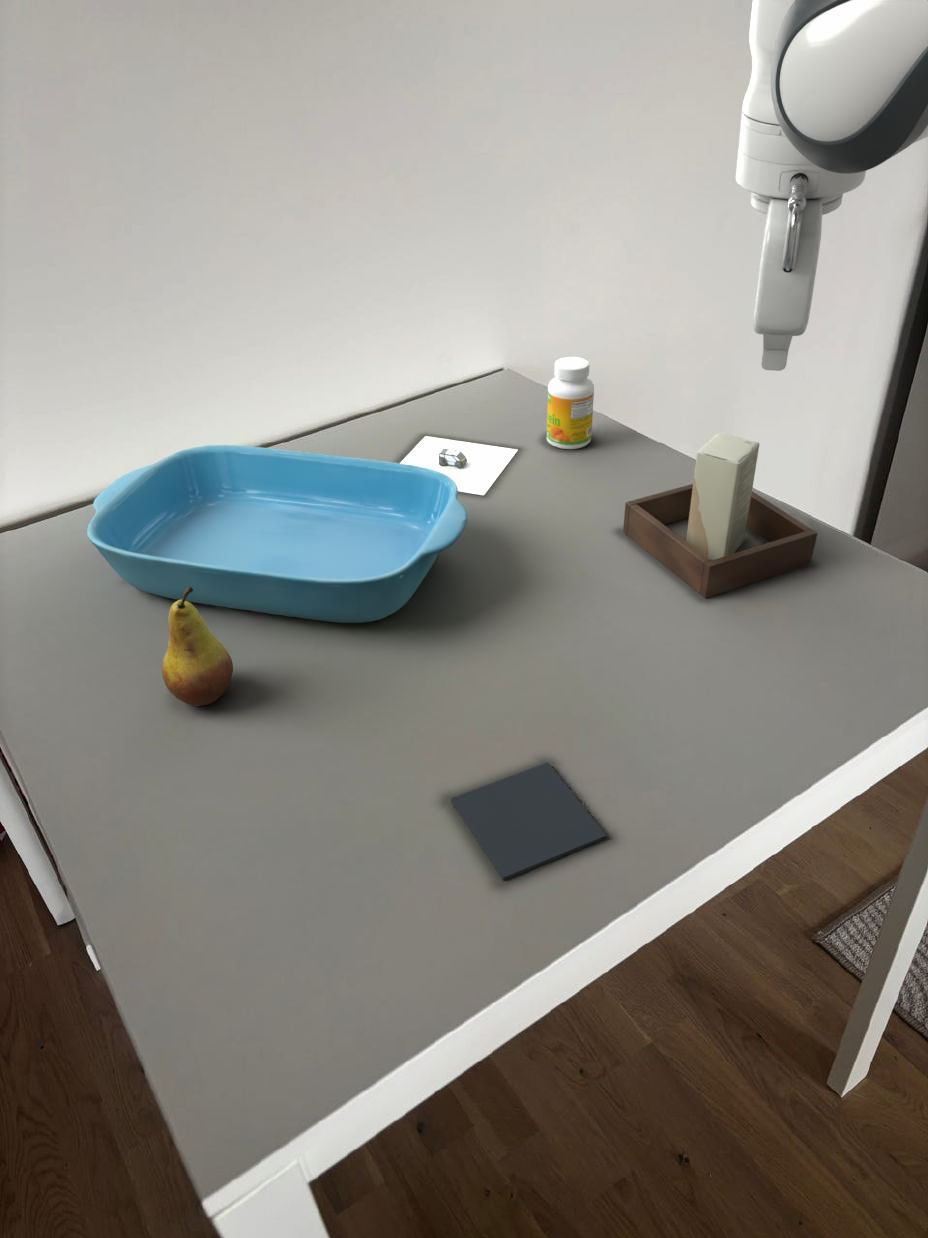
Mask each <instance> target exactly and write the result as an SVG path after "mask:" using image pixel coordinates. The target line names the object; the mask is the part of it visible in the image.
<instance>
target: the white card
mask: <svg viewBox="0 0 928 1238" xmlns="http://www.w3.org/2000/svg"><path fill="white" fill-rule="evenodd" d="M518 451H519V449H517V448H510V447H503V446H497V445H490V444H482V443H476V442H468V441H461V440H456V439H455V440H454V439H448V438H443V437H442V438H440V437H435V436H427V435H425V436H424V437H423V438H422V439H421V440H420V441H419V442H418V443H417V444H416V445H415V446H414V448H413V449H412V450H411V451H410V452H409V453H408V454H407V455H406V456H405V457H404V458H403V459H402V460H401V461H400V462H399V463H400V464H407V465H413V466H419V467H424V468H428V469H432V470H435V471H438V472H440V473H443V474H445V475H447V476H448V477H450V478H451V479H452V480H453V481H454V482H455V484H456V485H457V489H458V493H459V492H460V493H465V494H466V493H467V494H473V495H479V496H486V494H487V492H488V491H489V489H491V487H492V486H493V484H494V483H495V481H496V480H497V479H498V477H499V476H500V475H501V473H502V472H503V471H504V470H505V468H506V467H507V466H508V464H509V463H510V462H511V460H512V459H513V457H514V456H515V454H517V453H518Z"/></svg>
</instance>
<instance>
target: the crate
mask: <svg viewBox="0 0 928 1238" xmlns="http://www.w3.org/2000/svg"><path fill="white" fill-rule="evenodd" d="M692 489H693V483H691V484H687V485H683V486H681V487H680V486H679V487H676V488H672V489H669V490H665V491H662V492H658V493H654V494H650V495H647V496H642V497H639V498H636V499H633V500H632V499H631V500H629V501H625V505H624V516H623V527H622V528H623V529H622V533H624V534H625V535H626V536H627V537H629V538H630V539H631V540H632V541H634V542H635V543H636V544H637V545H639V547H641V548H642V549H643V550H645V551H646V552H647V553H648V554H650V555H651V556H652V557H653V558H654V559H656V560H657V561H658V562H660V564H662V565H663V566H664V567H666V568H667V569H668V570H669V571H671V573H672V574H675V575H676V576H677V578H679V579H681V580H682V581H683V582H684V583H685V584H687V585H688V586H689V587H690V588H692V589H693V590H695V591H696V592H697V593H698V594H699V595H701V596H702V597H703V598H704V599H707V598H710V597H714V596H717V595H720V594H722V593H726V592H729V591H732V590H735V589H738V588H741V587H745V586H748V585H750V584H754V583H757V582H760V581H763V580H766V579H769V578H772V577H775V576H778V575H782V574H784V573H787V572H790V571H794V570H797V569H800V568H802V567H805V566H809V565H812V561H813V556H814V552H815V547H816V543H817V538H818V532H817V531H815V530H814V529H812V528H811V527H809V526H808V525H806V524H804V523H803V522H801V521H800V520H798V519H796V518H795V517H794V516H792V515H791V514H789V513H787V512H786V511H784V510H783V509H782V508H779V507H778V506H776V505H775V504H773V503H772V502H770V501H769V500H768V499H765V498H764V497H762V496H761V495H759V494H757V493H756V492H755V491H753V490H752V494H751V500H750V506H749V512H748V518H747V524H746V528H748V529H750V530H751V531H753V532H755V534H757V535H759V536H760V537H762V538H763V539H765V541H768V542H767V543H764V544H760V545H757V546H753V547H750V548H747V549H744V550H740V551H737V552H734V554H731V555H727V556H724V557H721V558H718V559H714V560H710V559H709V558H707V557H706V556H705V555H703V554H702V553H701V552H699V551H698V550H697V549H695V548H694V547H693V546H691V545H690V544H689V543H687V542H686V539H683V538H682V536H679V534H677V533H676V532H674V531H673V530H672V529H670V528H669V527H668V526H667V525H669V524H671V523H675V522H678V521H681V520H682V521H683V520H685V519H689V513H690V506H691V498H692Z"/></svg>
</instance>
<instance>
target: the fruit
mask: <svg viewBox="0 0 928 1238" xmlns="http://www.w3.org/2000/svg"><path fill="white" fill-rule="evenodd" d="M192 591H193V589H192V587H190V586H189V587H188V588H187V589H186V591H185V593H184V595H183V598H182V600H178V599H177V600H175V602H173V603H172V604H171V606H170V608H169V611H168V612H169V613H168V632H169V633H168V634H169V636H168V637H169V638H168V642H167V650H166V651H165V654H164V657H163V660H162V663H161V674H162V679H163V682H164V684H165V686H166V689H167V690H168V691H169V693H170V694H171V695H173V696H174V697H175V698H176V699H178V701H181V702H183V703H184V704H186V705H190V706H196V707H199V706H201V707H202V706H207V705H210V704H212V703H214V702H216V701H217V700H218V699H220V697H221V696H222V695H223V694H224V693H225V692H226V690H227V689H228V688H229V685H230V683H231V681H232V677H233V674H234V664H233V659H232V658H231V656H230V653H229V652H228V650H227V649H226V648H225V646H224V645H223V644H222V643H221V642H220V641H219V639H218V638H217V637H216V636H215V635H214V634H213V632H212V631H211V630H210V629H209V627H208V625H207V623H206V622H205V620H204V618H203V617H202V616H201V614H200V612H199V611H198V609H197V608H196V607H195V606H194V605H193V603H192V602H190V601H185V599H186V597H187V596H188V594H189V593H190V592H192Z"/></svg>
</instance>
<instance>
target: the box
mask: <svg viewBox="0 0 928 1238" xmlns="http://www.w3.org/2000/svg"><path fill="white" fill-rule="evenodd" d="M759 449H760V442H758V441H753V440H750V439H745V438H741V437H737V436H733V435H731V434H726V433H722V432H717V433H716V434H715V435H713V436H712V437H711V438H710V439H709V440H708V441H707V442H706V443H705V444H704V445H702V447H700V449H699V450H698V451H697V452H696V458H695V466H694V475H693V476H694V477H693V482H692V484H693V489H692V498H691V506H690V513H689V518H688V521H687V531H686V539H685V541H686V542H687V543H689V544H690V545H691V546H693V547H694V548H695V549H697V550H698V551H699V552H701V553H702V554H703V555H705V556H706V557H707V558H709V559H710V560H714V559H718V558H721V557H724V556H727V555H731V554H734V553H736V551H737V550H738V549H739V548H740V547H741V545H742V544H743V543H744V541H745V535H746V529H747V526H746V524H747V518H748V512H749V506H750V500H751V494H752V491H753V486H754V481H755V475H756V469H757V463H758V458H759V457H758V455H759Z"/></svg>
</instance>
